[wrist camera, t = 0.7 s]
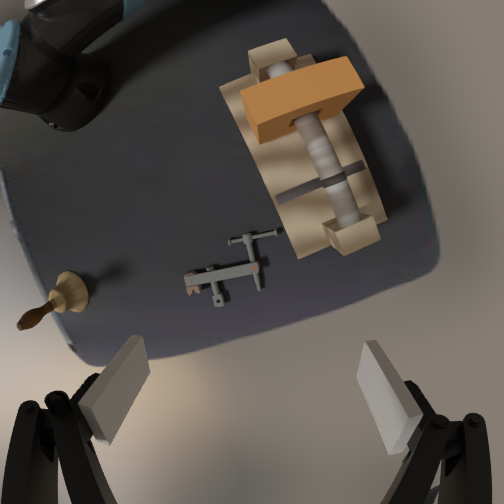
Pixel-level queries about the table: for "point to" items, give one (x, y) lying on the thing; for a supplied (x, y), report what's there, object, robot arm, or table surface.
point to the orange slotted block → (299, 97)
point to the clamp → (226, 271)
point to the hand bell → (59, 300)
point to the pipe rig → (310, 166)
